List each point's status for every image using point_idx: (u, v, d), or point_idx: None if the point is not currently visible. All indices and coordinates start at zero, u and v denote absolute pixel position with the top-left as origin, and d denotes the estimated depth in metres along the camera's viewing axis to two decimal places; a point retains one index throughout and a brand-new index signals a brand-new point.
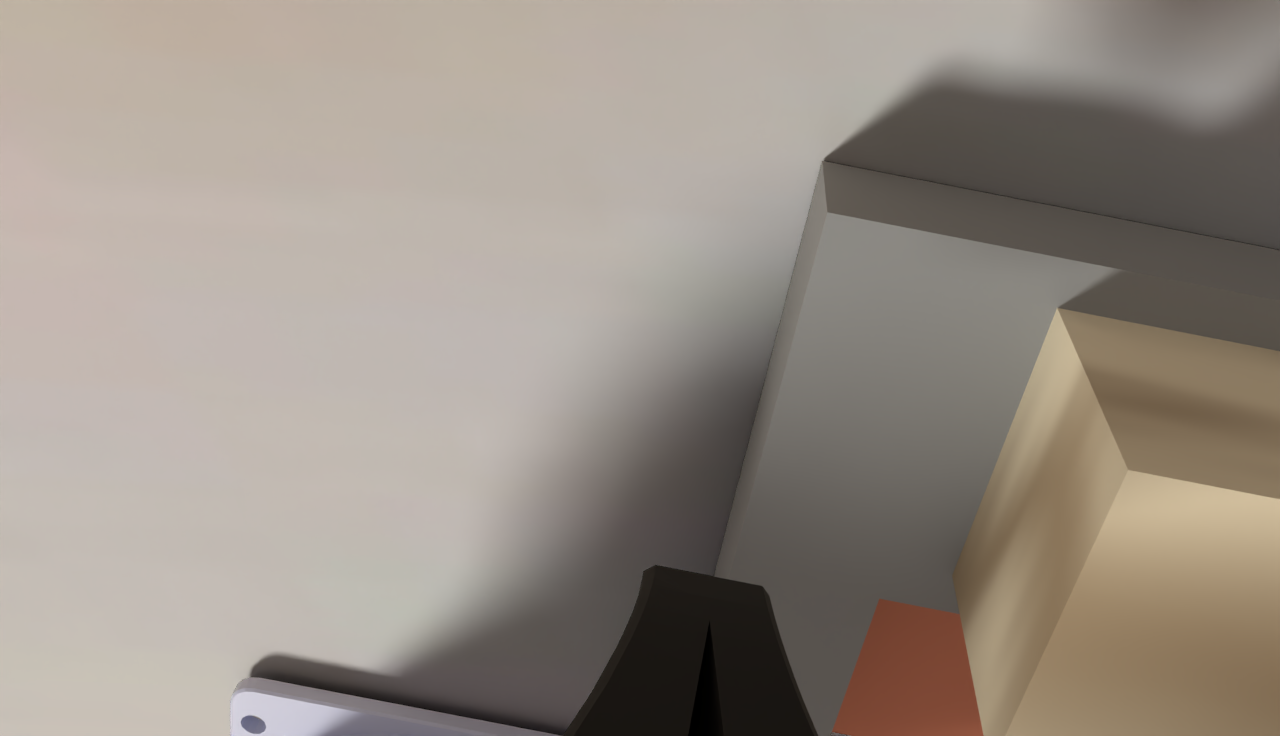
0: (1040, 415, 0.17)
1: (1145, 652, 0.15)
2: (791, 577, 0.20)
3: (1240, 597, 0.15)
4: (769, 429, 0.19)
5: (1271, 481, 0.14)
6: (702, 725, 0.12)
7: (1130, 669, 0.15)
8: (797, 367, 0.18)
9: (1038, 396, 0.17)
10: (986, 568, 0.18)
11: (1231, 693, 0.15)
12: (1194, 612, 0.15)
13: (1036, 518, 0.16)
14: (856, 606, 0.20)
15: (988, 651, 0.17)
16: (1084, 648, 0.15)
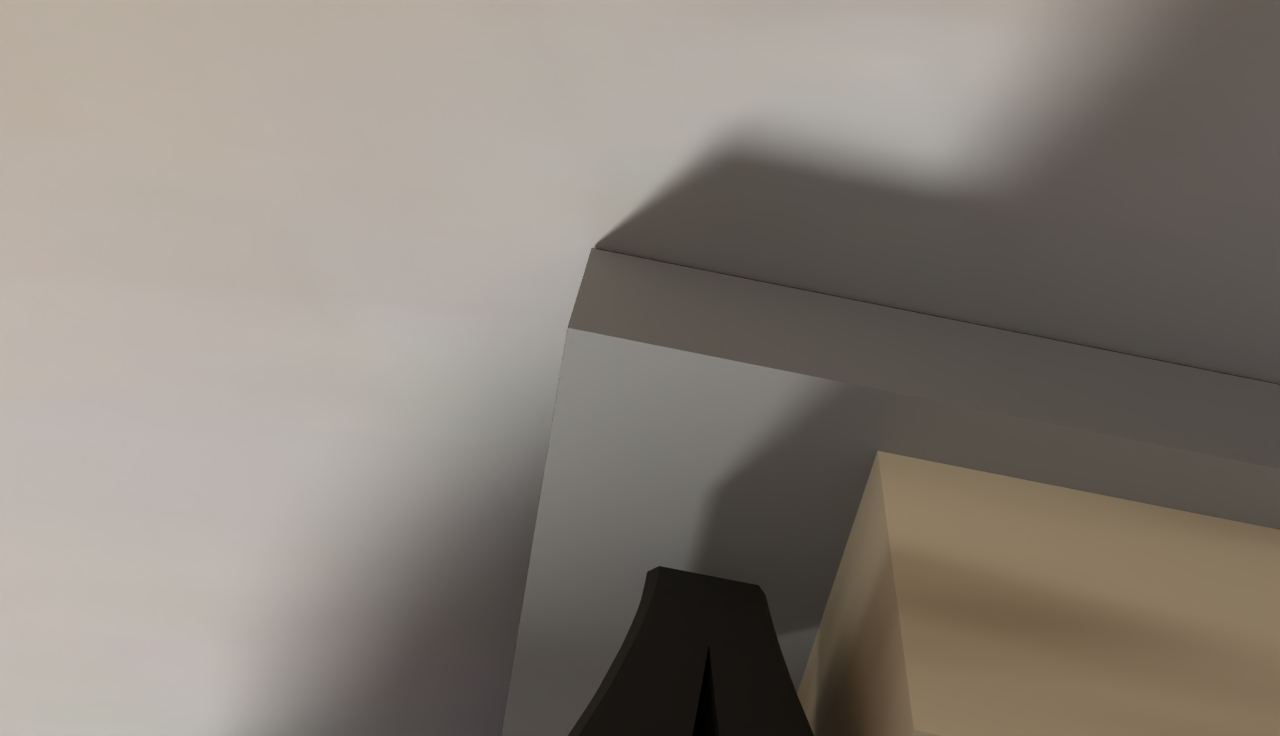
0: (852, 593, 0.13)
1: None
2: None
3: None
4: (525, 588, 0.15)
5: None
6: (698, 724, 0.12)
7: None
8: (551, 516, 0.14)
9: (853, 566, 0.13)
10: None
11: None
12: None
13: None
14: None
15: None
16: None
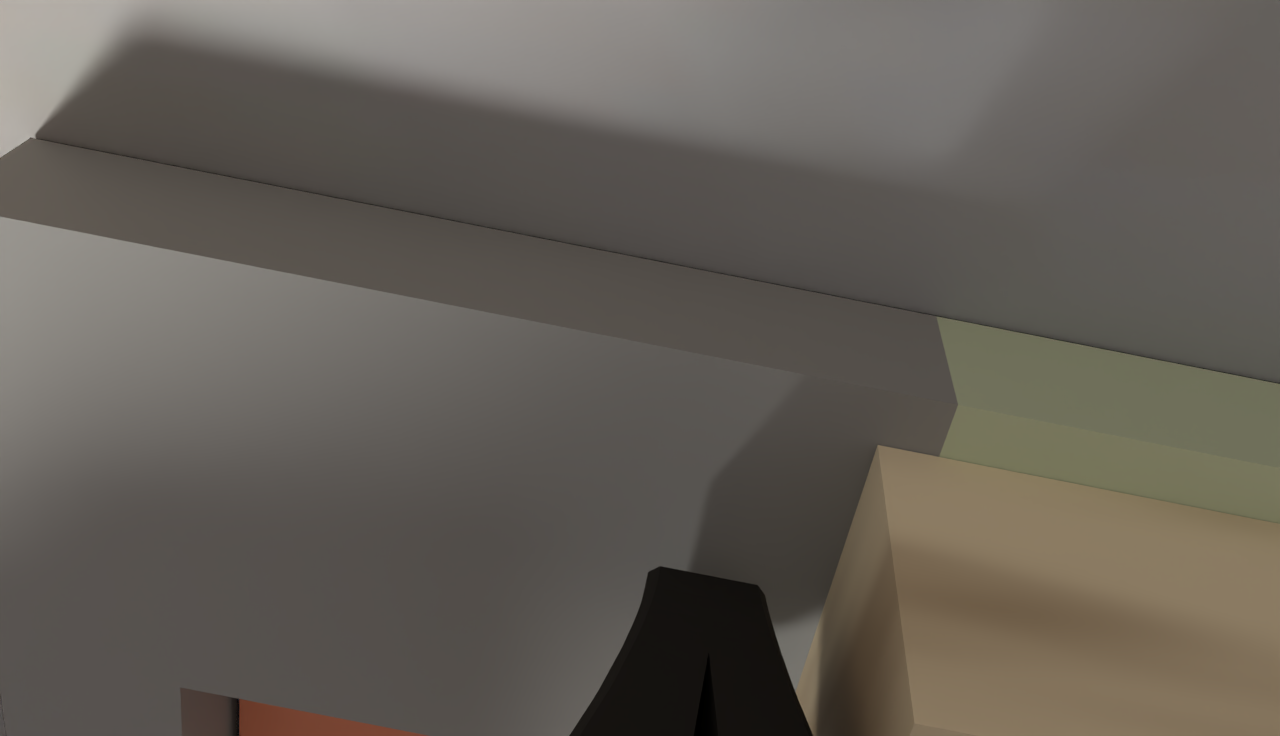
0: (853, 587, 0.13)
1: None
2: (67, 660, 0.16)
3: None
4: None
5: (1121, 731, 0.10)
6: (697, 724, 0.12)
7: None
8: None
9: (854, 561, 0.13)
10: None
11: None
12: None
13: (838, 733, 0.12)
14: (157, 696, 0.16)
15: None
16: None
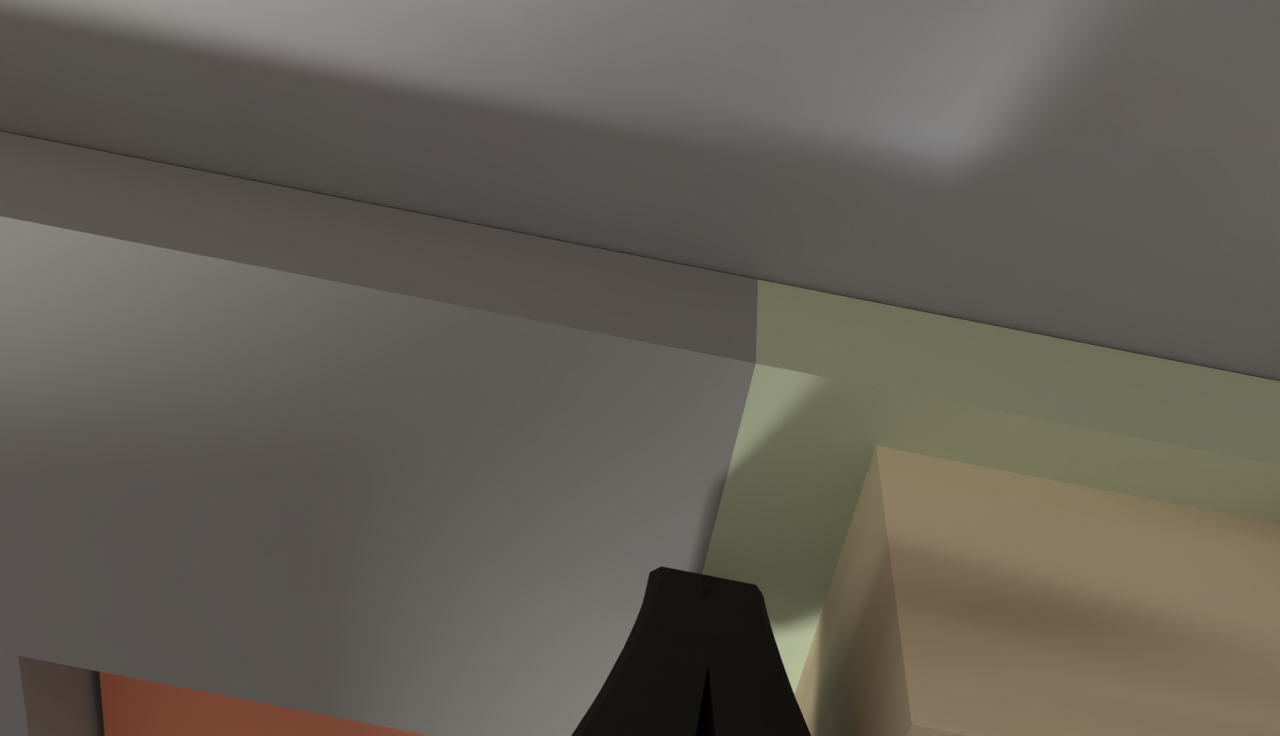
0: (851, 589, 0.13)
1: None
2: None
3: None
4: None
5: (1120, 732, 0.10)
6: None
7: None
8: None
9: (852, 561, 0.13)
10: None
11: None
12: None
13: (836, 733, 0.12)
14: None
15: None
16: None
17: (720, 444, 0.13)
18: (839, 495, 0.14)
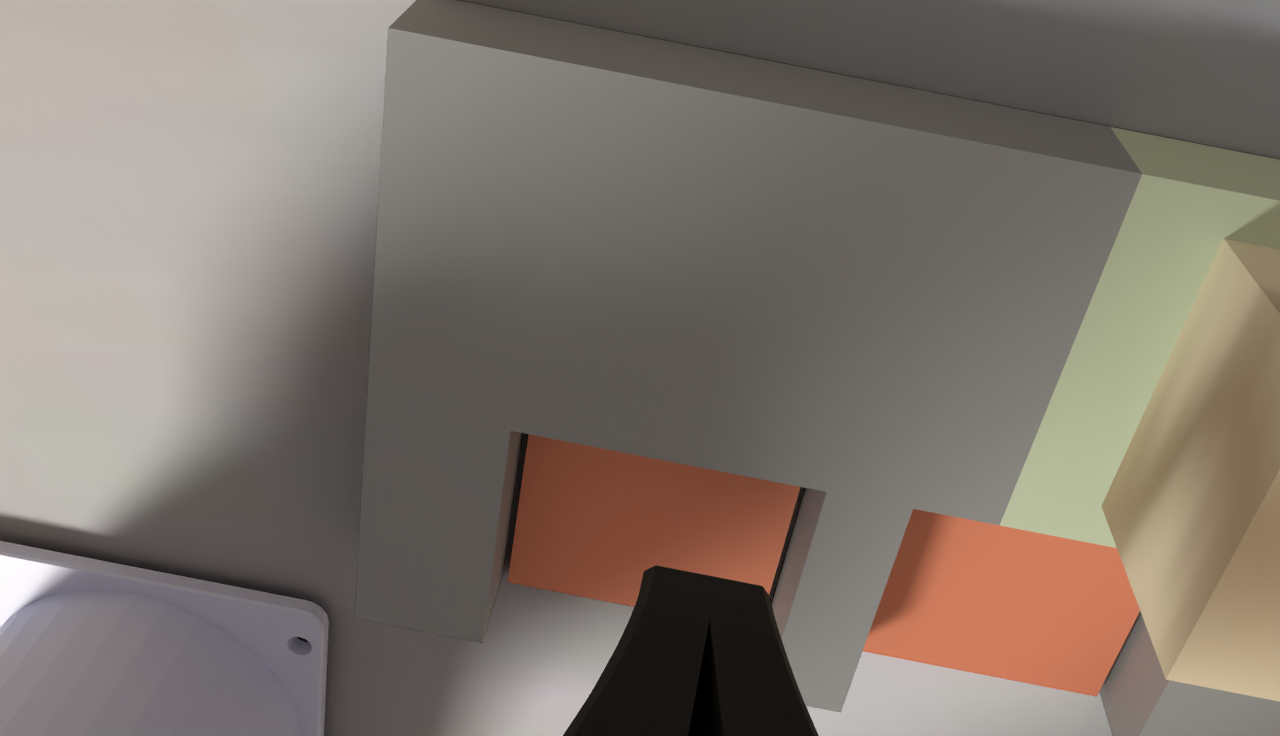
0: (1209, 342, 0.18)
1: None
2: (423, 409, 0.21)
3: None
4: (376, 255, 0.19)
5: None
6: (702, 725, 0.12)
7: None
8: (390, 190, 0.19)
9: (1205, 325, 0.18)
10: (1147, 494, 0.19)
11: None
12: None
13: (1210, 438, 0.17)
14: (490, 439, 0.21)
15: (1155, 570, 0.18)
16: (1270, 558, 0.16)
17: (1104, 240, 0.18)
18: (1189, 279, 0.18)
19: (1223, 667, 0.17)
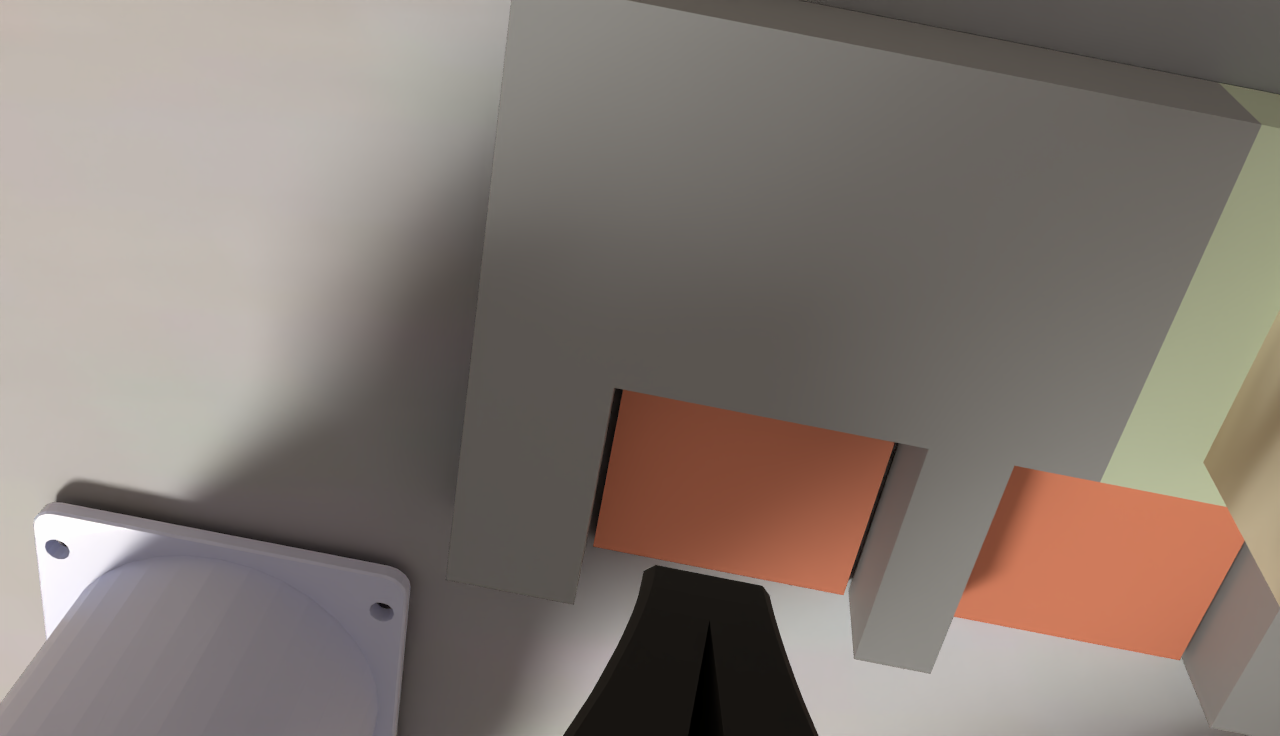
0: None
1: None
2: (527, 366, 0.21)
3: None
4: (488, 209, 0.19)
5: None
6: (702, 725, 0.12)
7: None
8: (505, 143, 0.19)
9: None
10: (1258, 446, 0.19)
11: None
12: None
13: None
14: (593, 396, 0.21)
15: (1272, 519, 0.18)
16: None
17: (1220, 191, 0.18)
18: None
19: None
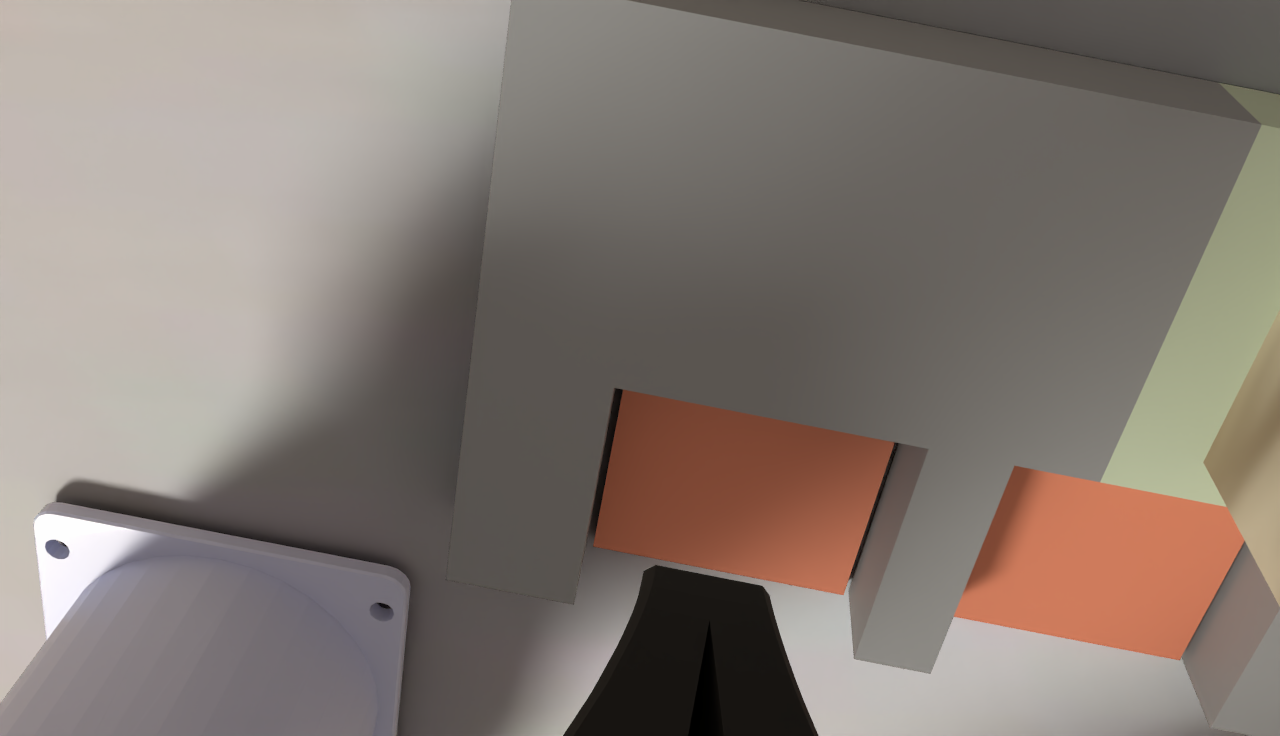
0: None
1: None
2: (527, 366, 0.21)
3: None
4: (488, 209, 0.19)
5: None
6: (702, 725, 0.12)
7: None
8: (505, 143, 0.19)
9: None
10: (1258, 446, 0.19)
11: None
12: None
13: None
14: (593, 396, 0.21)
15: (1272, 519, 0.18)
16: None
17: (1220, 191, 0.18)
18: None
19: None
